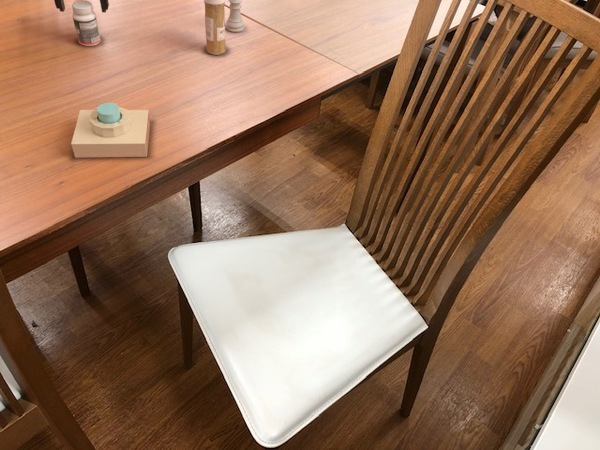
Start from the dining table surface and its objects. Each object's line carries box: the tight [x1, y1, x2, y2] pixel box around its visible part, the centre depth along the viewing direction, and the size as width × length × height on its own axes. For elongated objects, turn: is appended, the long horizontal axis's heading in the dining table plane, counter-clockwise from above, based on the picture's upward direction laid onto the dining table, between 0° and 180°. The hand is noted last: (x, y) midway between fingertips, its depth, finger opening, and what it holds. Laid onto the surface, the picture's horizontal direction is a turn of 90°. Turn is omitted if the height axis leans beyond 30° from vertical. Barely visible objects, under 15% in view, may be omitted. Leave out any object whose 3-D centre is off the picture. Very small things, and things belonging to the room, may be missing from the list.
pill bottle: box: [71, 0, 101, 47], centre depth 111 cm, size 5×5×8 cm
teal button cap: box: [96, 102, 121, 124], centre depth 87 cm, size 4×4×2 cm
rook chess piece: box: [225, 0, 245, 33], centre depth 122 cm, size 4×4×8 cm
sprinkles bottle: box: [203, 0, 227, 56], centre depth 112 cm, size 5×5×13 cm
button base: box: [70, 106, 151, 159], centre depth 89 cm, size 12×10×5 cm
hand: (83, 10), depth 109 cm, fingers open, 8 cm apart
